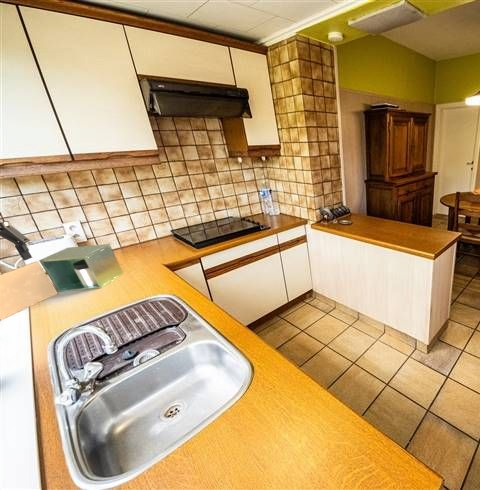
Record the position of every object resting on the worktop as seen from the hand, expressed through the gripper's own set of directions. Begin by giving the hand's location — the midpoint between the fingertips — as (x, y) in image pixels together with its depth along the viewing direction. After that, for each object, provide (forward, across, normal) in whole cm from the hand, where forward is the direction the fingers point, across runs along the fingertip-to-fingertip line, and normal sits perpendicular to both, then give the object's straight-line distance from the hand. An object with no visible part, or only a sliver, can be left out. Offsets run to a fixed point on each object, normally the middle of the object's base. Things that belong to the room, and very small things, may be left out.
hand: (9, 260), depth 110 cm
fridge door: (+24, -9, +3) cm, 26 cm away
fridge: (+24, +6, +20) cm, 32 cm away
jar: (+23, +9, +19) cm, 31 cm away
